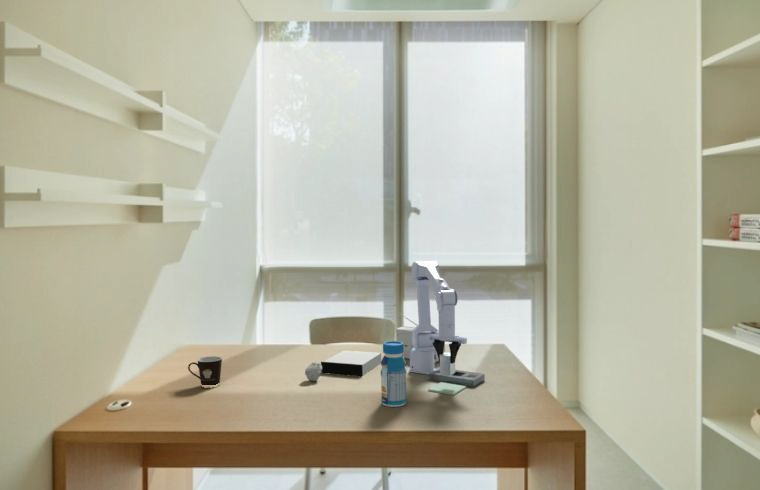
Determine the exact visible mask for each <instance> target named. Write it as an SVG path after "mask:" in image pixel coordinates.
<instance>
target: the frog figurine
mask: <svg viewBox="0 0 760 490" xmlns="http://www.w3.org/2000/svg"><path fill="white" fill-rule="evenodd" d="M321 371H322V365H321V362H317V361H313V362H311V364H309V365H308V366H307V367H306V368H305V371H304V375H305V376H306V378H307V380H308V381H311V382H315V381H317V380H319V378H320V377H321V374H322V373H321Z"/></svg>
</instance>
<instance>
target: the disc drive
mask: <svg viewBox="0 0 760 490" xmlns="http://www.w3.org/2000/svg"><path fill="white" fill-rule="evenodd" d="M381 361H382V352H375V351H374V352H372V351H360V350H358V351H355V350H345V349H343V350H342V351H341V352H339V353H336V354H334V355H333V356H331V357H329V358H327V359H325V360H324V361H321V362H320V364H321V365H322V371H321V374H325V373H330V374H329V375H336V374H340V375H339V376H347V375H350V377H359V376H360V377H359V378H362V376H365V375H366V374H368V373H369V372H371V371H372V370H374V369H375V368H377V367H378V366H379V365H381V364H380V363H381ZM370 370H371V371H370ZM367 372H368V373H367Z"/></svg>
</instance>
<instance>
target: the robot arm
mask: <svg viewBox="0 0 760 490" xmlns="http://www.w3.org/2000/svg"><path fill="white" fill-rule="evenodd" d="M439 273H440V265H439V262H438V261H437V260H425V261H416V260H415V261H413V262H412V264H411V280H412V283H415V285H416V297H417V314H418V324H417V325H415V326H414V327H415V328H414V329H413V331H412V346H413V347H414V348H413V349H412V350H411V352H410V359H409V370H408V372H410V373H416V374H423V375H428V376H429V373H431V372H433V371H435V370H437V369H438V368H436V367H435V363H434V350H436V352H437V355H438V359H439V361H438V362H439V363H440V354H442V353H444V343H445V344H446V343H447V342H448V343H449V344H448V347H449V353H450V355H451V356H450V360H451V363H452V364H453V363H455V364H456V359H457V355H458V352H459V349H460V348H461V346H462V345H466V344H468V338H467V337H463V336H460V335H459V336H458V335H456V316H455V315H456V307H455V306H457V304H458V293H457V291H456V289H454V288H450V286H449V284H448V283H447V281H446V279H445V278H442V277H440V274H439ZM430 287H431V290H432V292H433V293H434V295H435V301H436V303H435V304H436V310H437V312H438V329H437V328H436V327H435V326H434V325H432V323H431V322H432V321H431V305H430V303H431V302H430ZM437 330H439V334H438V333H437ZM427 331H430V332H429V333H419V332H427Z"/></svg>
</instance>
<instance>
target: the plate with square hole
mask: <svg viewBox="0 0 760 490" xmlns="http://www.w3.org/2000/svg"><path fill="white" fill-rule="evenodd" d="M436 369H437V370H435V371H433V372H431V373H429V375H428V381H432V382H438V383H440V382H443V383H449V384H455V385H461V386H466V387H468V388H475V387H476V386H478V385H480V384H481V383H483V382H484V381H485V373H479V372H473V371H467V370H460V369H455V373H454V374H453V375H451V376H448V375H442V374H440V367H439V368H436Z"/></svg>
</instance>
